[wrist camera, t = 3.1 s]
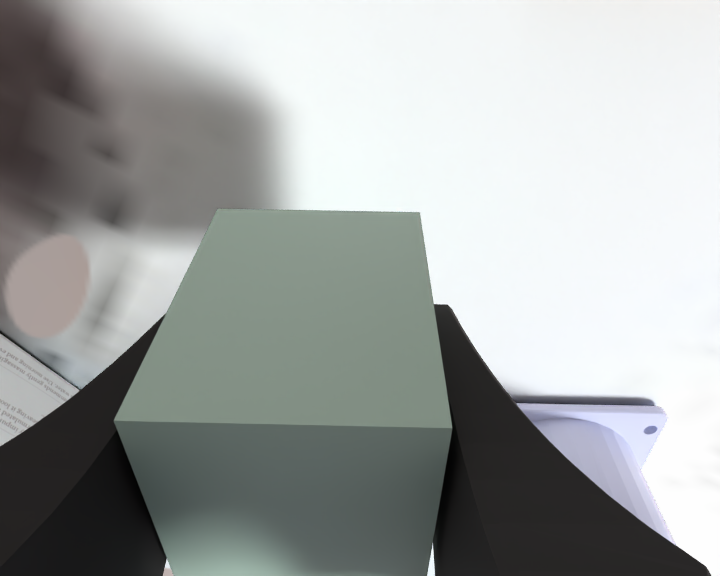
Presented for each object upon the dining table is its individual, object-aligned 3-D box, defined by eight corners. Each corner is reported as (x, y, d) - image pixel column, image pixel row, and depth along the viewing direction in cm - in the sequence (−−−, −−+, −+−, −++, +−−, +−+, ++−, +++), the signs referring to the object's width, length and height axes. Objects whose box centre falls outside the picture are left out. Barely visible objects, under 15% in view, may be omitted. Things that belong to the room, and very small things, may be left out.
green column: (406, 359, 15) (424, 590, 10) (241, 356, 15) (177, 584, 10) (419, 212, 12) (452, 428, 7) (217, 208, 12) (113, 421, 7)
